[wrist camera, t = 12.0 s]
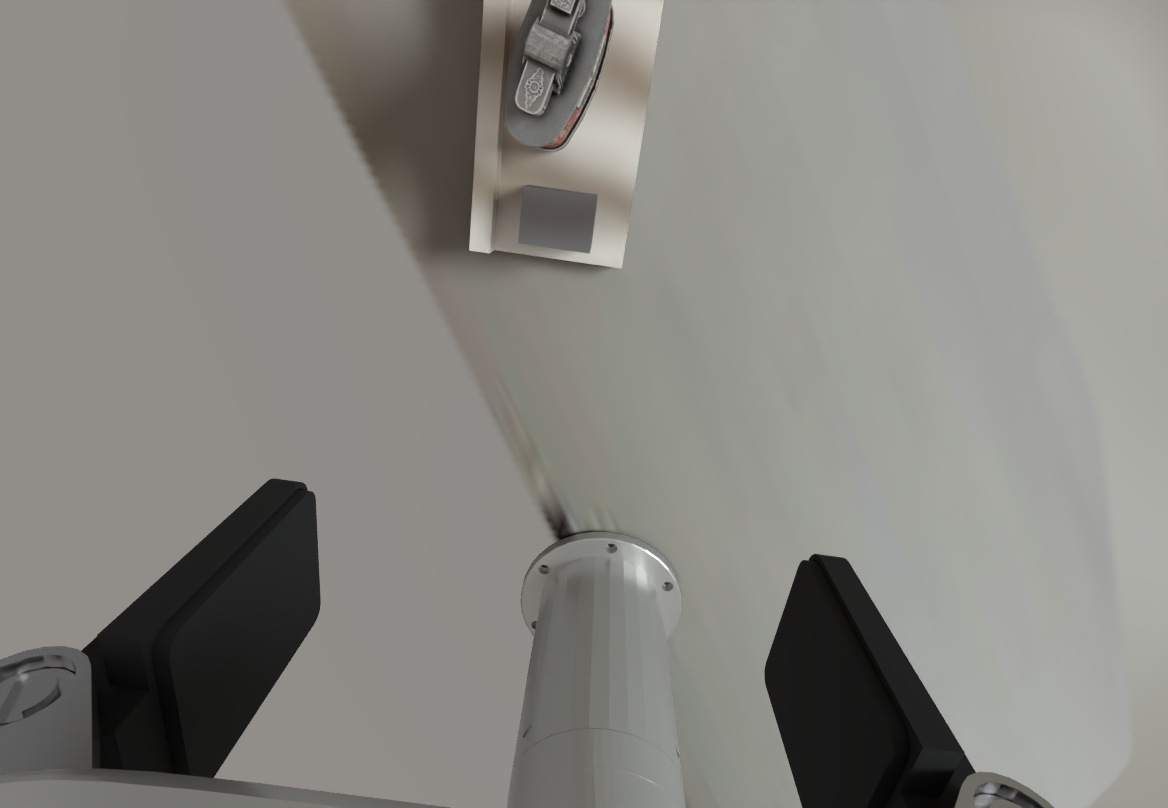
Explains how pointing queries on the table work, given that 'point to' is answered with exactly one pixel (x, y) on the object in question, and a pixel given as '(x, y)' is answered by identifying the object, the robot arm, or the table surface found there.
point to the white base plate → (578, 171)
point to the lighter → (556, 69)
